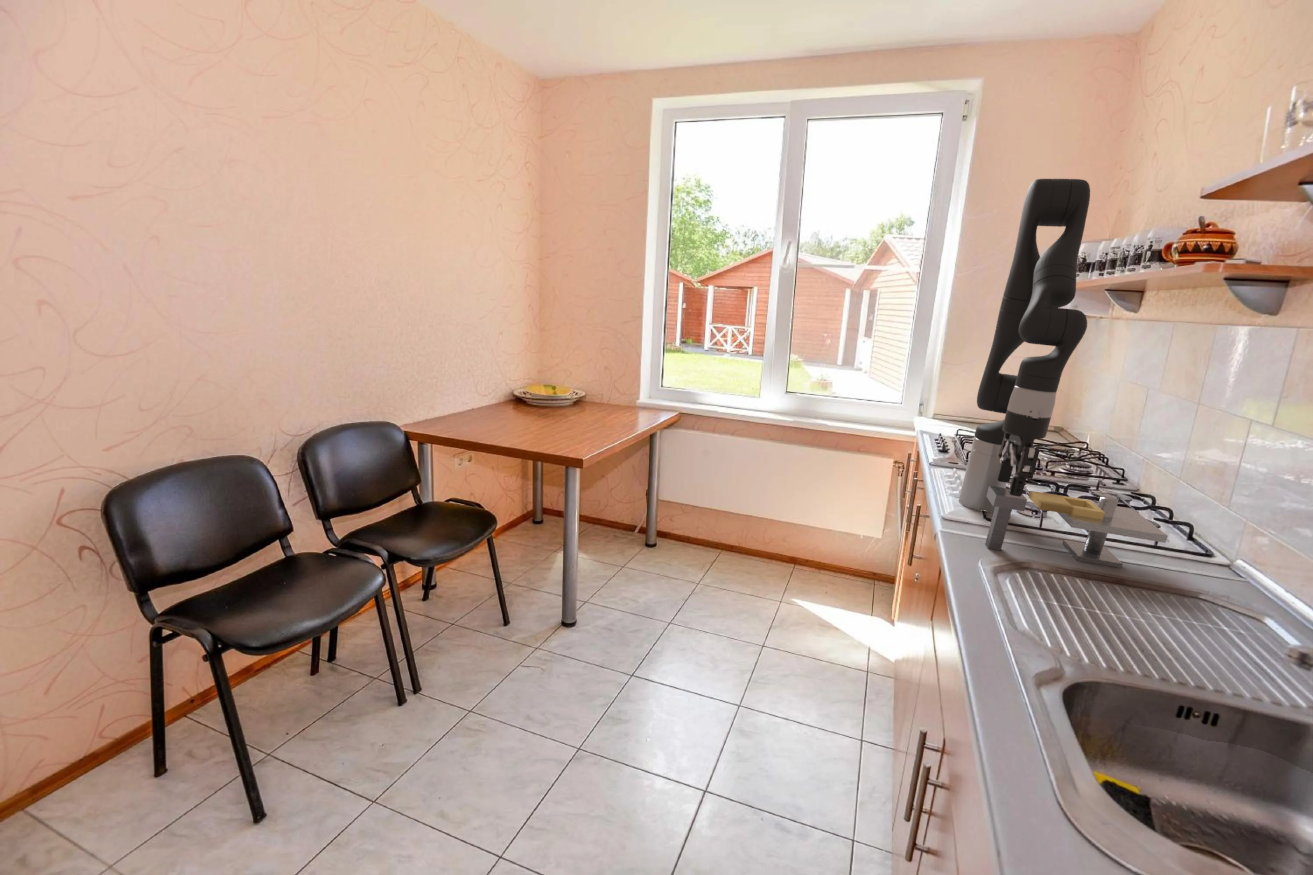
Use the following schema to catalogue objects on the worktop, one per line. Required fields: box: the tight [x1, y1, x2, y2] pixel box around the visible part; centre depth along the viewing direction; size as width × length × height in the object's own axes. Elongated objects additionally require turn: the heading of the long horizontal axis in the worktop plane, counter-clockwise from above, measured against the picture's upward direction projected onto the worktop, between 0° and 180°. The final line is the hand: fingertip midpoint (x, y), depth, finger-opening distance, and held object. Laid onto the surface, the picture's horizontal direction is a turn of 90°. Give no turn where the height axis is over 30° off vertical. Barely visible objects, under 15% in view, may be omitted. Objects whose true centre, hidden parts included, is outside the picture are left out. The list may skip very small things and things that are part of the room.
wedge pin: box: [984, 486, 1028, 552], centre depth 121 cm, size 6×6×12 cm
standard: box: [1056, 495, 1169, 569], centre depth 121 cm, size 16×14×13 cm
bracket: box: [1028, 490, 1105, 519], centre depth 122 cm, size 11×7×2 cm, turn 75°
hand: (1008, 488), depth 119 cm, fingers open, 8 cm apart
